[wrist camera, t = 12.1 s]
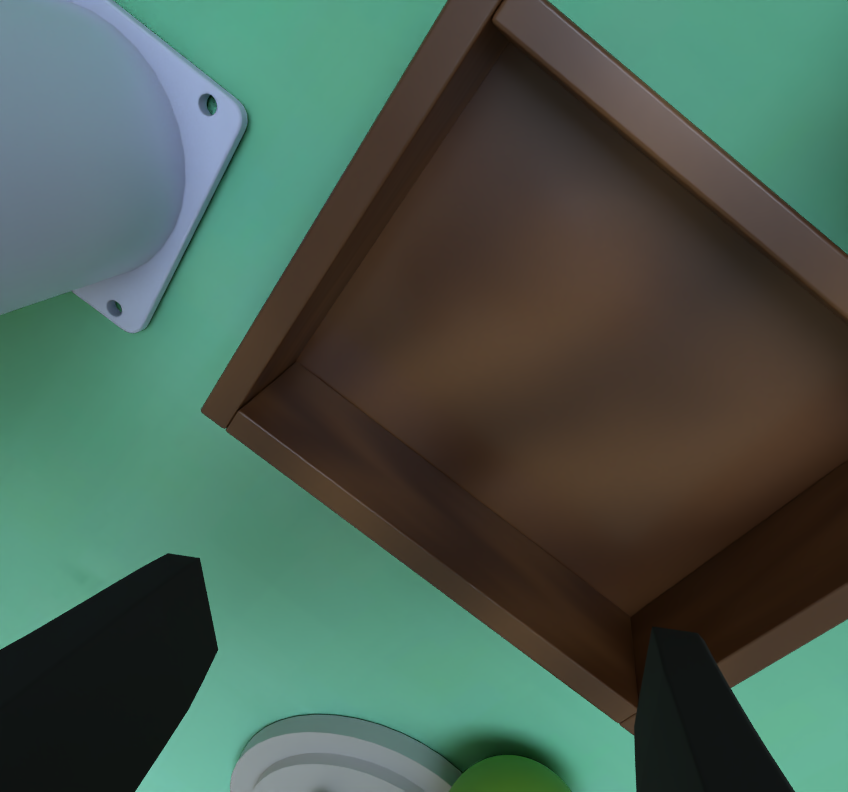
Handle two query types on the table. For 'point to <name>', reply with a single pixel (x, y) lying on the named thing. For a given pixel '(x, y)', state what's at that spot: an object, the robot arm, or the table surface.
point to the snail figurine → (509, 776)
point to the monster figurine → (338, 759)
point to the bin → (565, 362)
